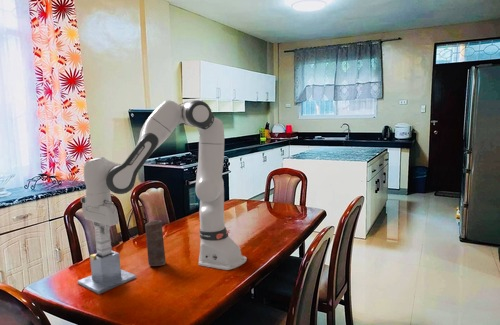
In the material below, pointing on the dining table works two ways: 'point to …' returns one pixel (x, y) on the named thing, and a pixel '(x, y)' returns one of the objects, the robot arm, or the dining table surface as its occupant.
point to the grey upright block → (155, 243)
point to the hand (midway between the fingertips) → (102, 232)
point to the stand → (105, 273)
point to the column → (102, 241)
